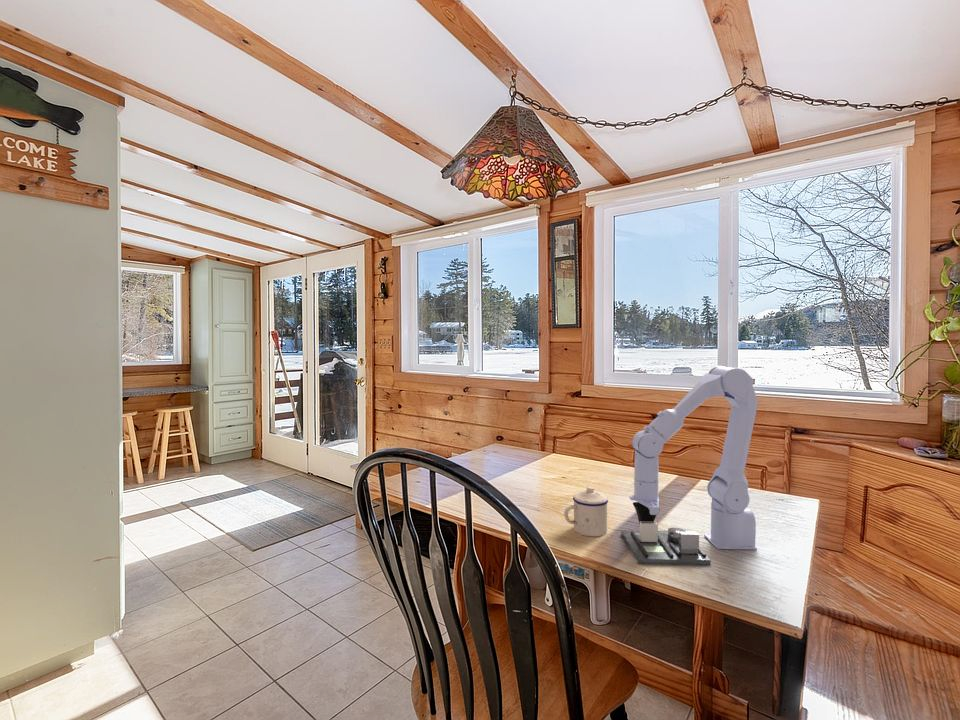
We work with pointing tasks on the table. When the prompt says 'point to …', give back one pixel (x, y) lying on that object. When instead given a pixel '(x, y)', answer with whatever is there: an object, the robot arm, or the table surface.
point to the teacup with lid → (589, 513)
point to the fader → (648, 531)
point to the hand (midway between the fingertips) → (645, 532)
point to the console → (667, 548)
